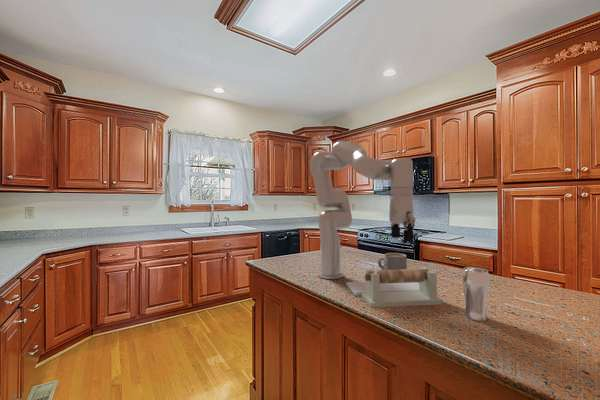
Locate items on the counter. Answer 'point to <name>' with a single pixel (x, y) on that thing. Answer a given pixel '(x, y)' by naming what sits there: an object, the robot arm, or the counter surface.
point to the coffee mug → (393, 261)
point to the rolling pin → (400, 276)
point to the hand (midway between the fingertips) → (401, 239)
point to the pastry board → (382, 287)
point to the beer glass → (475, 292)
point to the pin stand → (402, 292)
